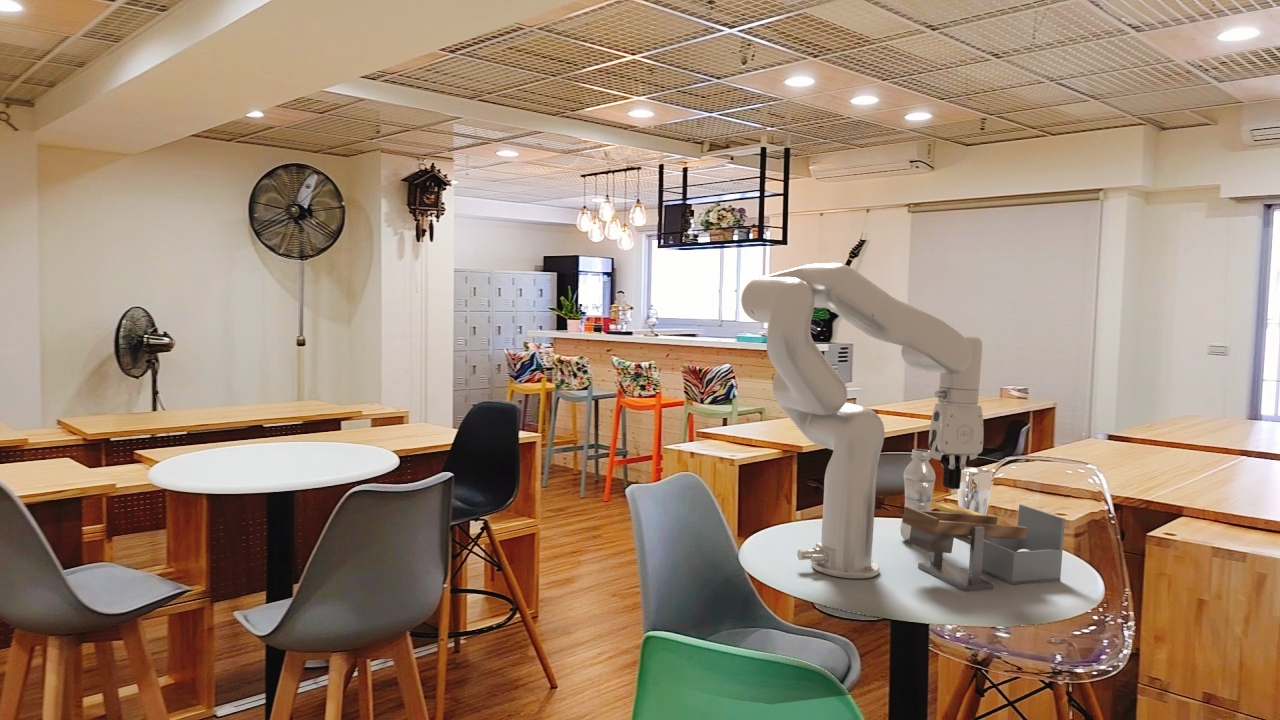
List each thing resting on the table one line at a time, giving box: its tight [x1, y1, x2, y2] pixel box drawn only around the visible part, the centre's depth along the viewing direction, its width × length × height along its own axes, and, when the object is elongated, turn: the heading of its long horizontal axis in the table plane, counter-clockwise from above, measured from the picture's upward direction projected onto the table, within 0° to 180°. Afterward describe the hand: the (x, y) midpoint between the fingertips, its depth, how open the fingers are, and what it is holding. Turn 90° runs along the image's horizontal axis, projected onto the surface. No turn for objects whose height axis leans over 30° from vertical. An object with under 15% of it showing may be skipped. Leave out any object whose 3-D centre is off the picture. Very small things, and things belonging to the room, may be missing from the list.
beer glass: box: [956, 466, 992, 538], centre depth 195 cm, size 7×7×15 cm
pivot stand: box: [917, 526, 995, 592], centre depth 164 cm, size 6×14×11 cm, turn 18°
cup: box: [982, 504, 1066, 585], centre depth 169 cm, size 11×11×12 cm
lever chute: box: [901, 500, 1028, 554], centre depth 169 cm, size 21×19×6 cm
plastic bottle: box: [899, 448, 937, 542], centre depth 188 cm, size 6×7×20 cm
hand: (951, 487), depth 176 cm, fingers closed
